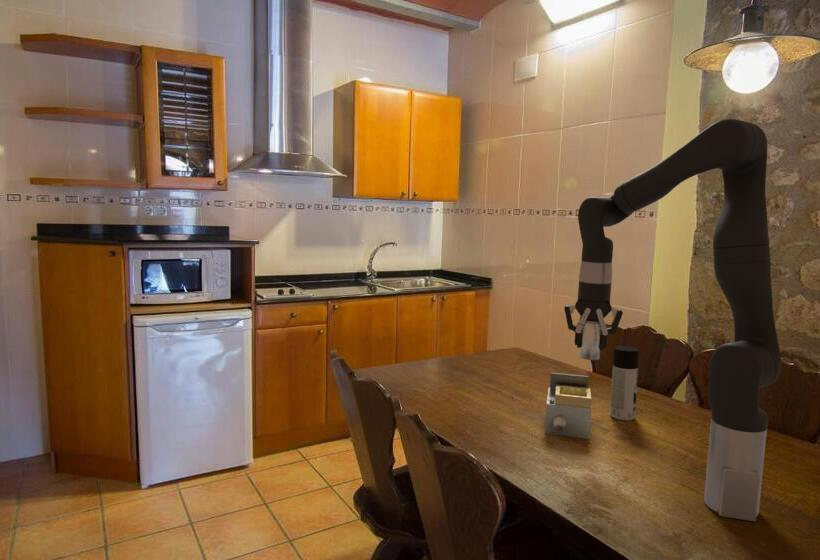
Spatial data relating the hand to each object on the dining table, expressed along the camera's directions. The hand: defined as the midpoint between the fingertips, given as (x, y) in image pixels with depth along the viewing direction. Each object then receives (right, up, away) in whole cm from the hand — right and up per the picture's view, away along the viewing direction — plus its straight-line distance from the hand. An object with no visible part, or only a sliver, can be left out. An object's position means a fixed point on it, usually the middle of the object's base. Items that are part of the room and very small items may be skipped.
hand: (590, 347), depth 131 cm
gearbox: (-2, -23, +11) cm, 25 cm away
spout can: (0, -2, 0) cm, 2 cm away
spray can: (+16, -22, +20) cm, 34 cm away
